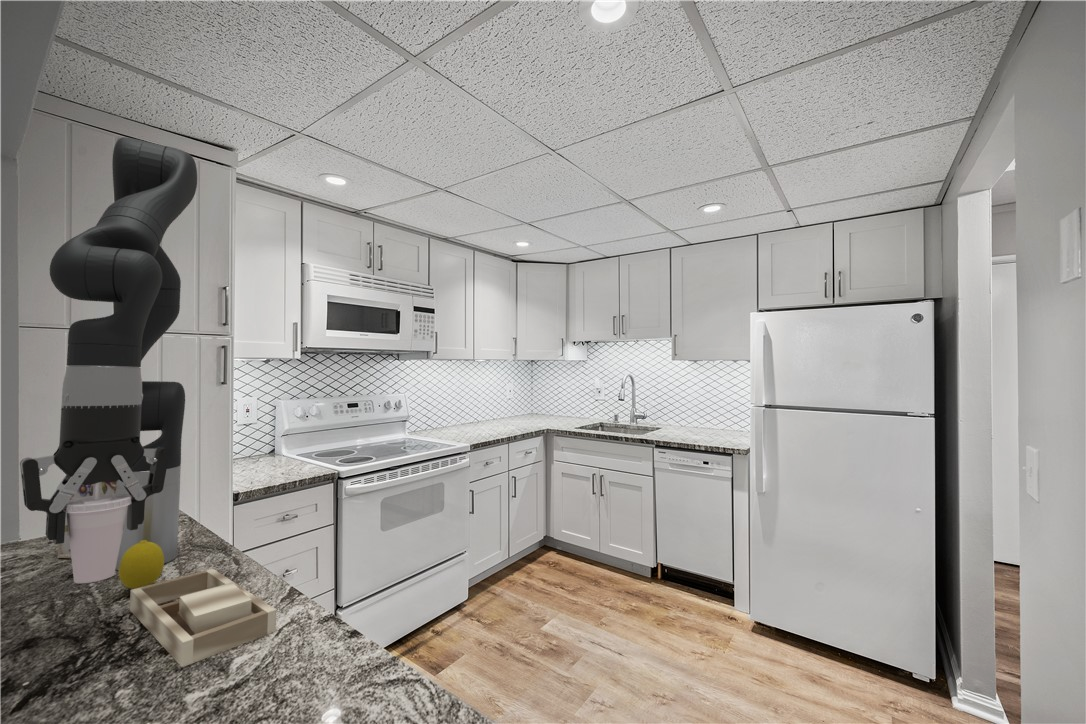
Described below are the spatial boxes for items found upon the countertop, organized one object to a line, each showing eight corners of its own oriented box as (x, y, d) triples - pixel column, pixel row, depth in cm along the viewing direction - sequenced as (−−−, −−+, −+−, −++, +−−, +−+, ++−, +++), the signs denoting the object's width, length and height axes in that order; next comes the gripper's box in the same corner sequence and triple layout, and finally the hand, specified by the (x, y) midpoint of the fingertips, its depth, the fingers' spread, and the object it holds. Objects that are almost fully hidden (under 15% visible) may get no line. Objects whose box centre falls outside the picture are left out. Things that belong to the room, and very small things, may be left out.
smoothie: (43, 590, 56) (50, 469, 57) (83, 569, 62) (89, 461, 63) (106, 585, 57) (112, 467, 58) (140, 566, 64) (145, 460, 64)
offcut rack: (129, 619, 67) (130, 589, 67) (211, 594, 75) (212, 568, 75) (181, 679, 54) (183, 642, 54) (275, 641, 62) (276, 609, 62)
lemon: (110, 601, 72) (113, 547, 73) (126, 587, 77) (129, 536, 78) (155, 595, 74) (158, 543, 75) (168, 582, 80) (170, 533, 80)
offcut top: (179, 612, 62) (179, 596, 62) (232, 597, 67) (232, 582, 67) (194, 633, 57) (195, 616, 57) (251, 615, 61) (251, 599, 61)
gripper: (163, 400, 69) (158, 518, 68) (16, 403, 58) (7, 544, 57) (181, 401, 64) (176, 527, 64) (24, 404, 53) (15, 558, 52)
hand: (96, 535), depth 60 cm, fingers closed on smoothie, 6 cm apart
